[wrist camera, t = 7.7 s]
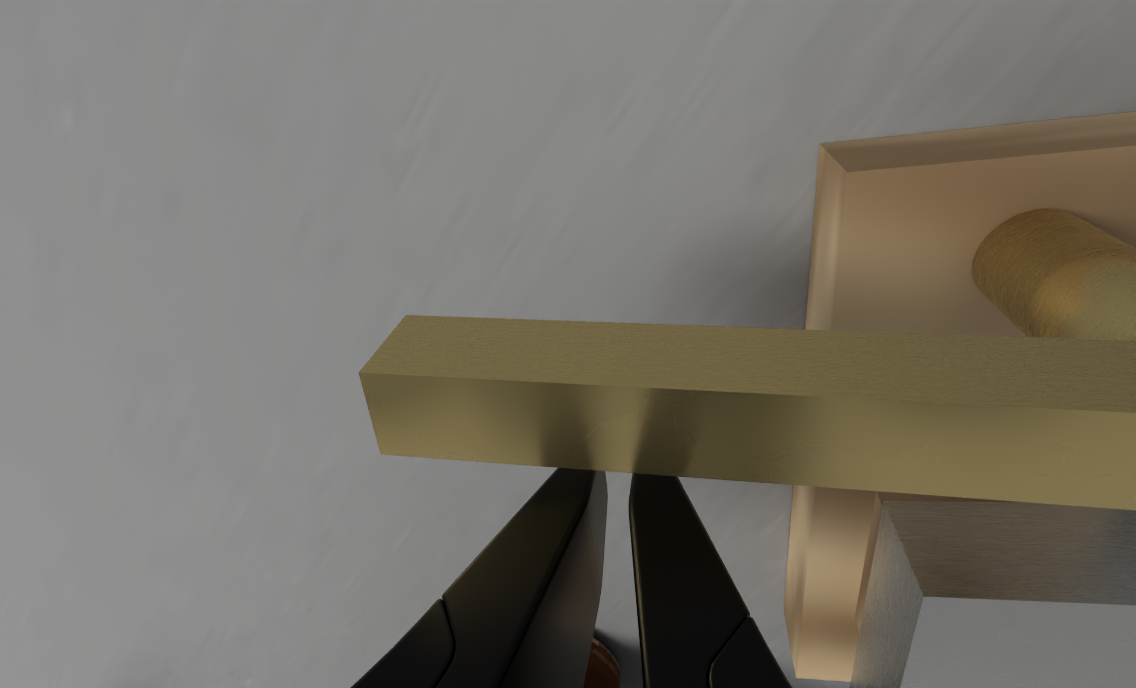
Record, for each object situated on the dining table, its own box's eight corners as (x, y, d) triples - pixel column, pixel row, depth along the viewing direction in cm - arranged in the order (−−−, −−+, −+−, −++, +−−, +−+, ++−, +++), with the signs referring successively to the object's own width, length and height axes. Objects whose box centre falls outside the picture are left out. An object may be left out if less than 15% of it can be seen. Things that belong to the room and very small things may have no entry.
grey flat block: (1035, 701, 16) (1090, 809, 14) (849, 688, 17) (874, 787, 15) (1129, 503, 12) (1223, 608, 10) (883, 500, 13) (923, 596, 11)
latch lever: (1108, 208, 11) (1509, 407, 6) (1066, 305, 12) (1371, 546, 7) (483, 205, 13) (353, 352, 7) (493, 289, 14) (384, 469, 8)
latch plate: (994, 621, 20) (1068, 766, 17) (784, 611, 22) (807, 742, 18) (1182, 106, 12) (1419, 160, 8) (819, 143, 13) (878, 203, 10)
